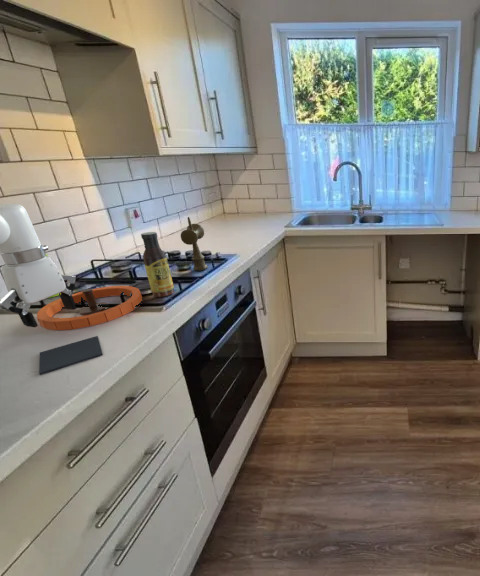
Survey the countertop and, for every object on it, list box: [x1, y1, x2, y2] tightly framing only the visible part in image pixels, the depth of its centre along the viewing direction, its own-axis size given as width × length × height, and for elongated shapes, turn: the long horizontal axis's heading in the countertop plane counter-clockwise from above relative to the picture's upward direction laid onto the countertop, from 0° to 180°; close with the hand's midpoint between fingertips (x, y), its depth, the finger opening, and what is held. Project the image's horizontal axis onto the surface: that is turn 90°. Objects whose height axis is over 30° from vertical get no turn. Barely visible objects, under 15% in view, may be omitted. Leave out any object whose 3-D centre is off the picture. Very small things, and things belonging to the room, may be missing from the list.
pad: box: [38, 335, 104, 375], centre depth 84 cm, size 11×11×1 cm
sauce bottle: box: [140, 231, 175, 298], centre depth 111 cm, size 7×6×20 cm
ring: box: [36, 285, 143, 331], centre depth 105 cm, size 24×24×3 cm
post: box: [78, 288, 109, 316], centre depth 105 cm, size 7×7×6 cm
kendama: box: [180, 216, 209, 272], centre depth 132 cm, size 6×10×20 cm, turn 12°
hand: (52, 317), depth 95 cm, fingers open, 9 cm apart
